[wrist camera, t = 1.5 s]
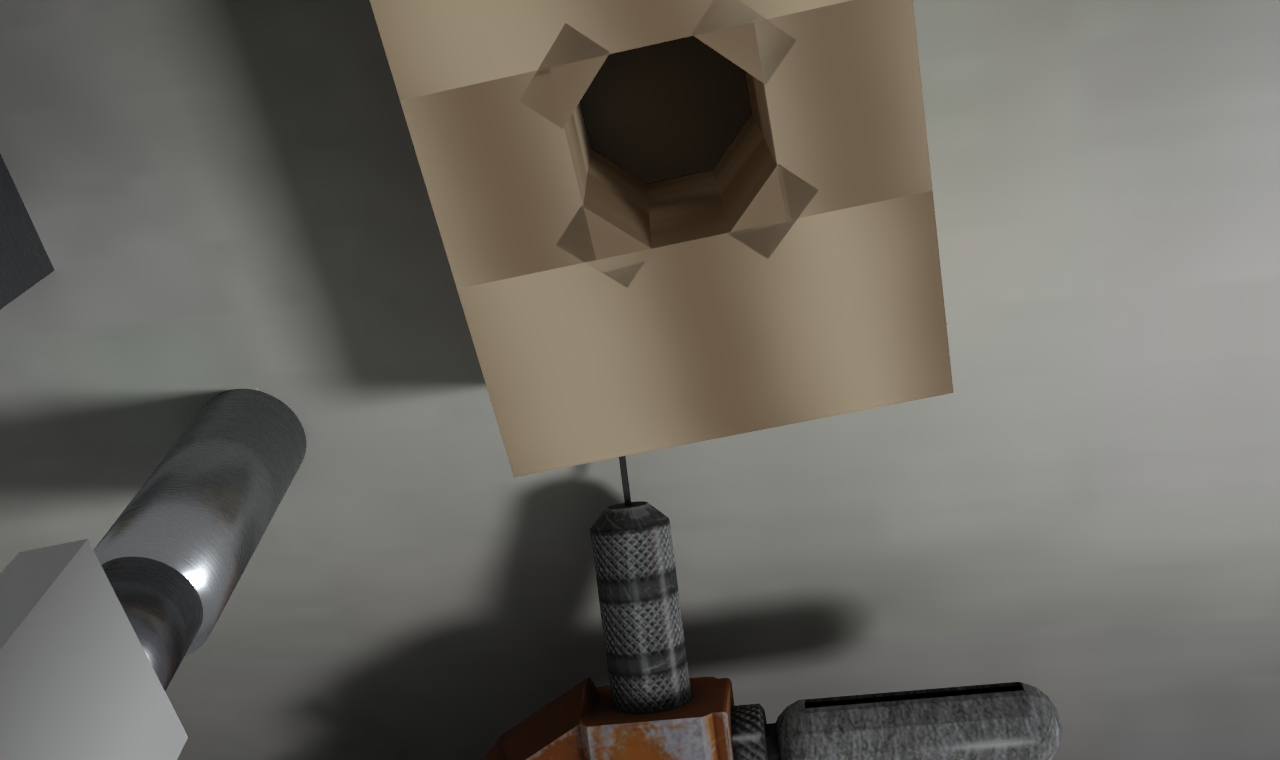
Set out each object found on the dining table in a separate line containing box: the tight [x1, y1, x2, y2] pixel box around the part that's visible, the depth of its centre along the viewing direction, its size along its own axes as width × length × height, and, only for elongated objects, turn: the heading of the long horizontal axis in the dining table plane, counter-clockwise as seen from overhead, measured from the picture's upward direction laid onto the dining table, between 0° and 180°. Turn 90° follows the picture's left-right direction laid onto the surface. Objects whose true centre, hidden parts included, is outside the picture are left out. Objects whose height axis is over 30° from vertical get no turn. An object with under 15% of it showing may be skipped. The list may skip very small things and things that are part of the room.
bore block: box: [370, 0, 953, 477], centre depth 29 cm, size 12×16×6 cm
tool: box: [485, 456, 1062, 760], centre depth 36 cm, size 4×27×30 cm
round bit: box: [94, 389, 306, 691], centre depth 31 cm, size 4×4×12 cm
